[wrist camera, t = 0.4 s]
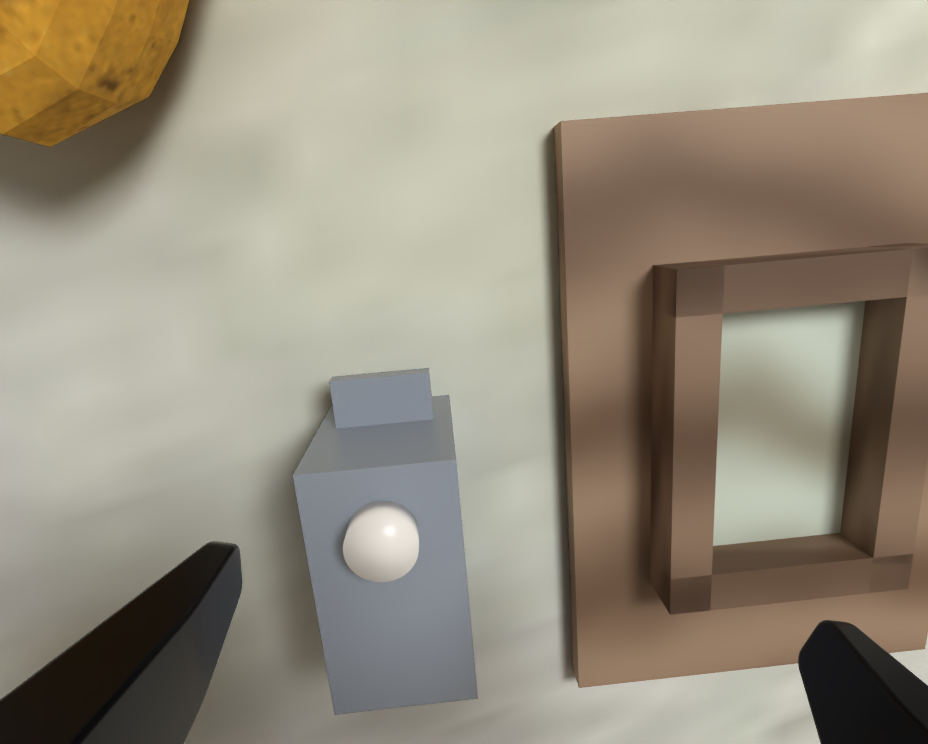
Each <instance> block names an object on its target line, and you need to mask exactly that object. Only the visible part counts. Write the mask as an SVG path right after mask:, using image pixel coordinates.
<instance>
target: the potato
mask: <svg viewBox="0 0 928 744" xmlns="http://www.w3.org/2000/svg"><path fill="white" fill-rule="evenodd" d="M188 3H189V0H0V134H3V135H7V136H11V137H15V138H18V139H22V140H26V141H30V142H33V143H37V144H41V145H45V146H48V147H52V146H53V145H55V144H57V143H59V142H61V141H63V140H65V139H67V138H69V137H71V136H73V135H75V134H77V133H79V132H81V131H83V130H85V129H87V128H89V127H91V126H93V125H95V124H97V123H99V122H101V121H102V120H104V119H106V118H108V117H110V116H112V115H114V114H116V113H118V112H120V111H122V110H124V109H126V108H128V107H130V106H132V105H134V104H136V103H138V102H140V101H142V100H144V99H146V98H148V97H149V96H150V94H151V92H152V90H153V89H154V87H155V85H156V83H157V81H158V79H159V77H160V75H161V73H162V72H163V70H164V68H165V66H166V64H167V62H168V60H169V58H170V57H171V55H172V53H173V51H174V49H175V47H176V45H177V43H178V41H179V37H180V33H181V29H182V26H183V22H184V18H185V15H186V11H187V7H188Z"/></svg>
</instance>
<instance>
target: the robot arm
mask: <svg viewBox="0 0 928 744" xmlns="http://www.w3.org/2000/svg"><path fill="white" fill-rule="evenodd" d="M241 588H242V573H241V560H240V550H239V547H238V546H237V545H236V544H232V543H224V542H217V541H212V542H209V543H207V544H205V545H204V546H203V547H201V548H200V549H199V550H197V551H196V552H195V553H193V554H192V555H191V556H189V557H188V558H187V559H185V560H184V561H183V562H181V563H180V564H179V565H177V566H176V567H175V568H174V569H172V570H171V571H170V572H168V573H167V574H166V575H164V576H163V577H162V578H160V579H159V580H158V581H156V582H155V583H154V584H152V585H151V586H150V587H148V588H147V589H146V590H145V591H143V592H142V593H141V594H139V595H138V596H137V597H135V598H134V599H133V600H131V601H130V602H129V603H127V604H126V605H125V606H123V607H122V608H121V609H119V610H118V611H117V612H115V613H114V614H113V615H112V616H110V617H109V618H108V619H106V620H105V621H104V622H102V623H101V624H100V625H98V626H97V627H96V628H94V629H93V630H92V631H90V632H89V633H88V634H86V635H85V636H84V637H83V638H81V639H80V640H79V641H77V642H76V643H75V644H73V645H72V646H71V647H69V648H68V649H67V650H65V651H64V652H63V653H61V654H60V655H59V656H57V657H56V658H55V659H53V660H52V661H51V662H50V663H48V664H47V665H46V666H44V667H43V668H42V669H40V670H39V671H38V672H36V673H35V674H34V675H32V676H31V677H30V678H28V679H27V680H26V681H24V682H23V683H22V684H21V685H19V686H18V687H17V688H15V689H14V690H13V691H11V692H10V693H9V694H7V695H6V696H5V697H3V698H2V699H1V700H0V744H184V741H185V739H186V737H187V735H188V733H189V731H190V729H191V726H192V724H193V722H194V720H195V718H196V716H197V713H198V711H199V709H200V706H201V704H202V702H203V699H204V697H205V694H206V691H207V689H208V686H209V683H210V680H211V677H212V675H213V672H214V669H215V666H216V663H217V660H218V657H219V654H220V652H221V649H222V646H223V643H224V640H225V637H226V634H227V632H228V629H229V626H230V623H231V620H232V617H233V614H234V611H235V609H236V606H237V603H238V600H239V597H240V593H241ZM798 665H799V670H800V674H801V677H802V680H803V684H804V687H805V691H806V694H807V698H808V701H809V705H810V708H811V711H812V715H813V718H814V722H815V725H816V729H817V732H818V736H819V739H820V742H821V744H928V686H927V685H926V684H925V683H924V682H923V681H921V680H920V679H919V678H918V677H917V676H915V675H914V674H913V673H912V672H910V671H909V670H908V669H907V668H906V667H904V666H903V665H902V664H901V663H900V662H898V661H897V660H896V659H895V658H894V657H892V656H891V655H890V654H889V653H888V652H886V651H885V650H884V649H883V648H882V647H880V646H879V645H878V644H877V643H876V642H874V641H873V640H872V639H871V638H870V637H868V636H867V635H866V634H865V633H864V632H862V631H861V630H860V629H859V628H857V627H856V626H855V625H853V624H850V623H847V622H841V621H833V620H823V621H821V622H820V623H819V624H818V625H817V626H816V628H815V629H814V630H813V632H812V633H811V635H810V636H809V638H808V639H807V641H806V642H805V644H804V645H803V647H802V648H801V650H800V652H799V656H798Z"/></svg>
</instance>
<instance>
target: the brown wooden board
mask: <svg viewBox="0 0 928 744" xmlns="http://www.w3.org/2000/svg"><path fill="white" fill-rule="evenodd" d="M554 135H555V164H556V193H557V221H558V250H559V279H560V307H561V336H562V365H563V393H564V422H565V451H566V479H567V508H568V536H569V565H570V594H571V622H572V651H573V671H574V674H575V677H576V680H577V683H578V686H579V688H582V687H591V686H600V685H609V684H618V683H627V682H635V681H644V680H653V679H662V678H671V677H680V676H689V675H698V674H706V673H715V672H724V671H733V670H742V669H751V668H760V667H769V666H777V665H786V664H795V663H798V656H799V652H800V650H801V648H802V647H803V645H804V644H805V642H806V641H807V639H808V638H809V636H810V635H811V633H812V632H813V630H814V629H815V628H816V626H817V625H818V624H819V623H820V622H821V621H823V620H833V621H841V622H847V623H850V624H853V625H855V626H856V627H857V628H859V629H860V630H861V631H862V632H864V633H865V634H866V635H867V636H868V637H870V638H871V639H872V640H873V641H874V642H876V643H877V644H878V645H879V646H880V647H882V648H883V649H884V650H885V651H886V652H888V653H893V652H902V651H911V650H919V649H925V645H926V639H927V633H928V93H920V94H907V95H894V96H881V97H868V98H855V99H842V100H829V101H816V102H803V103H790V104H777V105H765V106H752V107H739V108H726V109H713V110H700V111H687V112H674V113H661V114H648V115H635V116H622V117H609V118H596V119H583V120H570V121H561V122H559V123H558V124H557V125H556V126H554Z"/></svg>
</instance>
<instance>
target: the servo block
mask: <svg viewBox="0 0 928 744" xmlns="http://www.w3.org/2000/svg"><path fill="white" fill-rule="evenodd" d="M329 384H330V391H331V398H332V404H333V406H331V407H330V409H329V411H328V413H327V414H326V416H325V418H324V420H323V422H322V423H321V425H320V427H319V429H318V431H317V433H316V434H315V436H314V438H313V440H312V442H311V443H310V445H309V447H308V449H307V451H306V452H305V454H304V456H303V458H302V460H301V461H300V463H299V465H298V467H297V469H296V470H295V472H294V474H293V480H294V486H295V492H296V498H297V503H298V509H299V515H300V520H301V526H302V532H303V537H304V543H305V549H306V554H307V560H308V566H309V572H310V577H311V583H312V589H313V594H314V600H315V606H316V611H317V617H318V623H319V628H320V634H321V640H322V646H323V651H324V657H325V663H326V668H327V674H328V680H329V685H330V691H331V697H332V703H333V708H334V714H335V715H336V714H345V713H353V712H362V711H371V710H380V709H389V708H398V707H407V706H415V705H424V704H433V703H442V702H451V701H460V700H469V699H477V698H478V696H477V685H476V674H475V663H474V652H473V641H472V630H471V619H470V608H469V597H468V586H467V575H466V564H465V553H464V542H463V531H462V520H461V509H460V498H459V487H458V476H457V465H456V455H455V445H454V436H453V426H452V417H451V407H450V398H449V395H444V396H433V397H432V394H431V384H430V374H429V368H423V369H412V370H401V371H390V372H379V373H368V374H357V375H347V376H336V377H332V378H331V380H330V381H329Z"/></svg>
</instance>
